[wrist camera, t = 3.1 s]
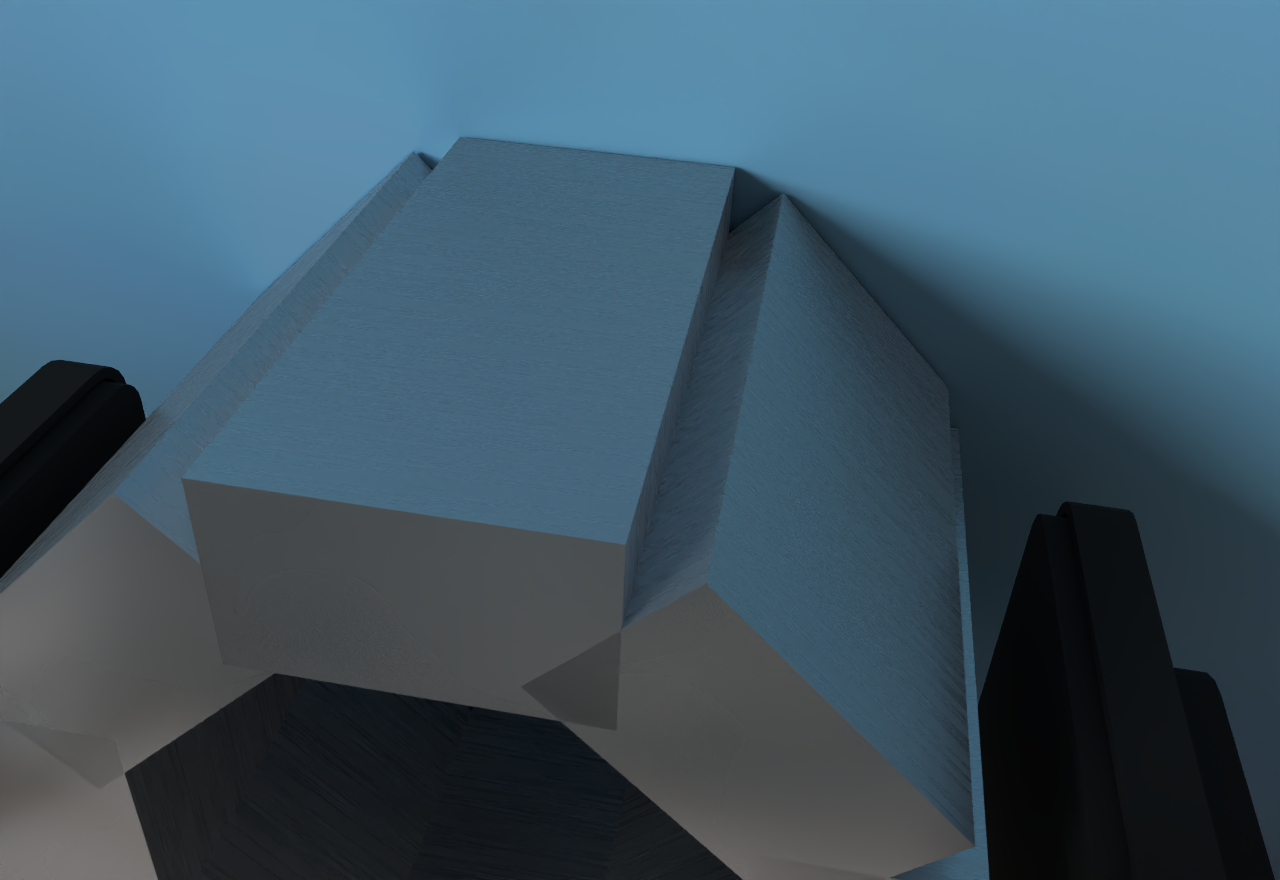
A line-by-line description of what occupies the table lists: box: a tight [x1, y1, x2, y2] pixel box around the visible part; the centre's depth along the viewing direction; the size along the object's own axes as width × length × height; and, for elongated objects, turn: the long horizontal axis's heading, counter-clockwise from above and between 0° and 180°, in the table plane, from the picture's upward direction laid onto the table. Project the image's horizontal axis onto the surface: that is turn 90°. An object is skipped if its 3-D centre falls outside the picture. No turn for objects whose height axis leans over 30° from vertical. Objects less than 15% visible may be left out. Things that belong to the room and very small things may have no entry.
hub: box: [0, 137, 989, 880], centre depth 10 cm, size 7×7×5 cm
